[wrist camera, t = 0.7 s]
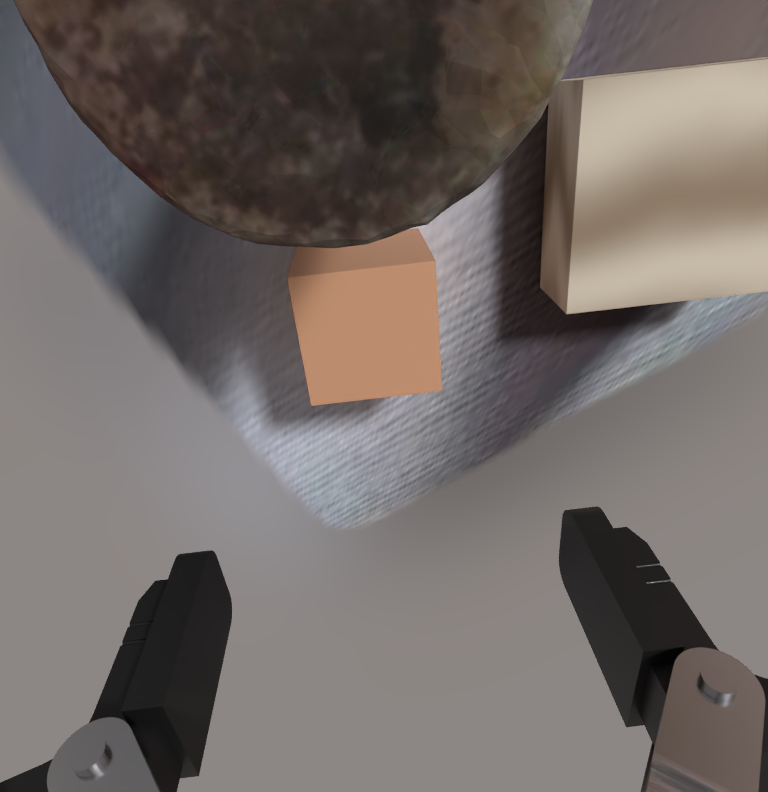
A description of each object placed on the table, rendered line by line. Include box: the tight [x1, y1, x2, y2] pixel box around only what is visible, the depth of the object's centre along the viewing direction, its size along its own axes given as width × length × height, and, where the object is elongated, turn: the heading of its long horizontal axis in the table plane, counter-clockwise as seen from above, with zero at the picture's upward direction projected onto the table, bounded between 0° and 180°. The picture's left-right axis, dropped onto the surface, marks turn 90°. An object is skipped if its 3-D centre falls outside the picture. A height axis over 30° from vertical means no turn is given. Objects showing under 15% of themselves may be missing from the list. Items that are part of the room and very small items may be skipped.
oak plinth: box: [540, 57, 768, 314], centre depth 25 cm, size 10×10×4 cm
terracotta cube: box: [287, 228, 442, 406], centre depth 26 cm, size 6×6×6 cm
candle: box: [14, 0, 593, 248], centre depth 14 cm, size 8×7×20 cm
